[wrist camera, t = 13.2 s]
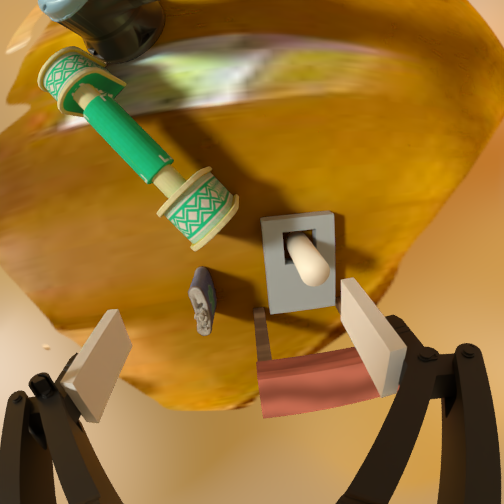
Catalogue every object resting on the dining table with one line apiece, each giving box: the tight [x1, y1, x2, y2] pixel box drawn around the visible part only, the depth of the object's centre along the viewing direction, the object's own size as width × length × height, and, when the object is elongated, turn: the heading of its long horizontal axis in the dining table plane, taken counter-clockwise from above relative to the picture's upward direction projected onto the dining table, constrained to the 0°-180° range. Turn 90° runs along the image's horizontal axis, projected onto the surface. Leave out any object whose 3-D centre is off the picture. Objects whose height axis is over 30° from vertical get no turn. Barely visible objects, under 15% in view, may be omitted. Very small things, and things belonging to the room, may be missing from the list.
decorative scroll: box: [38, 46, 239, 251], centre depth 38 cm, size 36×8×15 cm, turn 43°
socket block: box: [260, 211, 335, 314], centre depth 52 cm, size 17×12×3 cm
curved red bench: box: [253, 297, 400, 418], centre depth 43 cm, size 7×18×25 cm, turn 96°
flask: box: [188, 267, 217, 336], centre depth 49 cm, size 9×3×11 cm, turn 8°
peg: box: [285, 231, 330, 287], centre depth 45 cm, size 4×4×14 cm
